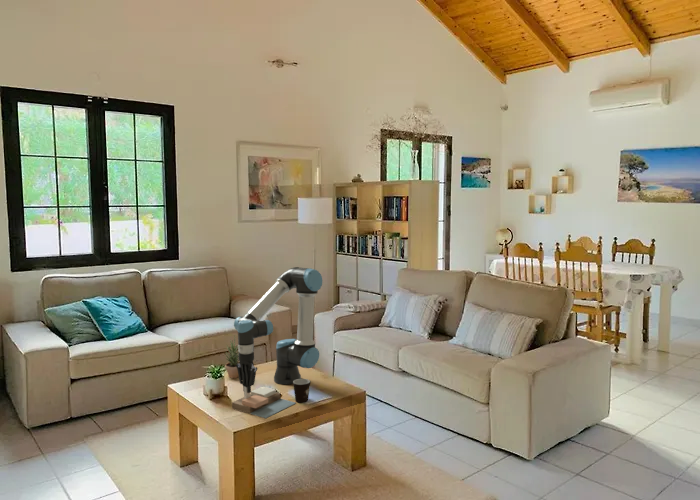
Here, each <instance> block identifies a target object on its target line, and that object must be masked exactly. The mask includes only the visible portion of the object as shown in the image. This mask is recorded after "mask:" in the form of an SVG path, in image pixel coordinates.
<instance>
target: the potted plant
mask: <svg viewBox="0 0 700 500" xmlns="http://www.w3.org/2000/svg"><path fill="white" fill-rule="evenodd" d="M233 338H234V339H233V340H231V339H230V340H229V342H230V346H229V345H228V344H227V343H226V348H227V350H228V352H229V353H228V352H227V351H225V353H224V356H225V357H226V360H227V361H228V362H227V363H225V366H224V367H225V369H226V372H227V375H228V378H230V379H237V378H239V375H238V370H237V367H236V364H239V362H240V361H239V357H238V354H239V352H238V344H237V345H236V334H234V337H233Z"/></svg>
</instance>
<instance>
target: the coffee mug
mask: <svg viewBox="0 0 700 500" xmlns="http://www.w3.org/2000/svg"><path fill="white" fill-rule="evenodd" d="M310 386H311V380H310V379H308V378H301V379H297V380H294V381H293V392H294V393H293V394H294V398H295V399H294V400H295V403H296V404H297V403H298V404H305V403H307V402H308V401H309V396H310V395H309V394H310Z"/></svg>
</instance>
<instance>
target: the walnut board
mask: <svg viewBox="0 0 700 500" xmlns="http://www.w3.org/2000/svg"><path fill="white" fill-rule="evenodd" d="M251 396H252V395H251V393H250V397H251ZM267 398H268V403H266V404H264V405H262V406H259V407H257V408H252V407H249V406H246V405H243V404H242V400H244V396H243V397H241V398H238V399H236V400H234V401H232V402H231V409H234V410H237V411H240V412H243V413H247V414H250V413H252V412H254V411H256V410H258V409H260V408H262V407H264V406H266V405H269V404H271V403H273V402H275V401H277V400H279V399H281V393H279V392H276V394H273V395H271V396H269V397H267Z"/></svg>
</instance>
